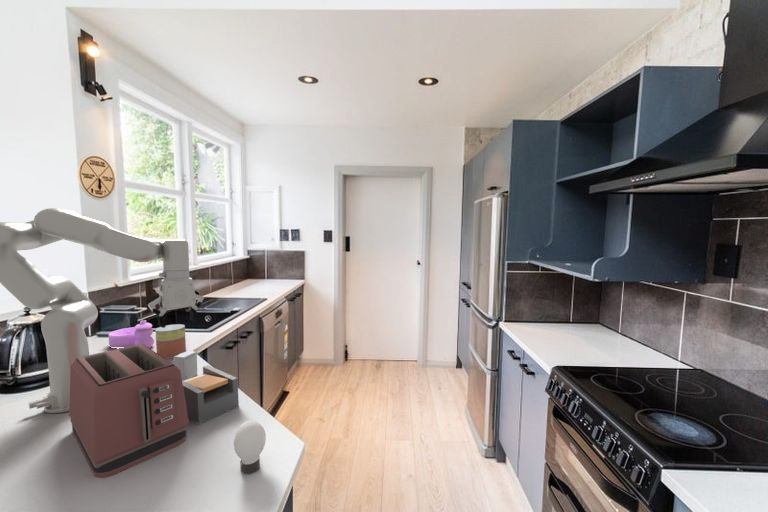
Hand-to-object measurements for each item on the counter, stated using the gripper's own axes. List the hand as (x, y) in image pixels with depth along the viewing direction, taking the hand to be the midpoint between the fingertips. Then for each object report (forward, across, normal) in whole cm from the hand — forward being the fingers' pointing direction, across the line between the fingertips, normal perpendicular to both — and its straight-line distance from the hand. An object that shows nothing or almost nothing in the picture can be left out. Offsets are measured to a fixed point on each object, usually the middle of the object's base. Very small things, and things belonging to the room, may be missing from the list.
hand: (178, 323), depth 115 cm
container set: (+23, +7, +67) cm, 71 cm away
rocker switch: (+17, -2, -21) cm, 27 cm away
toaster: (+23, -21, -20) cm, 37 cm away
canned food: (+23, +12, +39) cm, 47 cm away
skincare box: (+23, +1, -2) cm, 23 cm away
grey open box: (+22, -2, -20) cm, 30 cm away
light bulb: (+22, -9, -58) cm, 62 cm away
